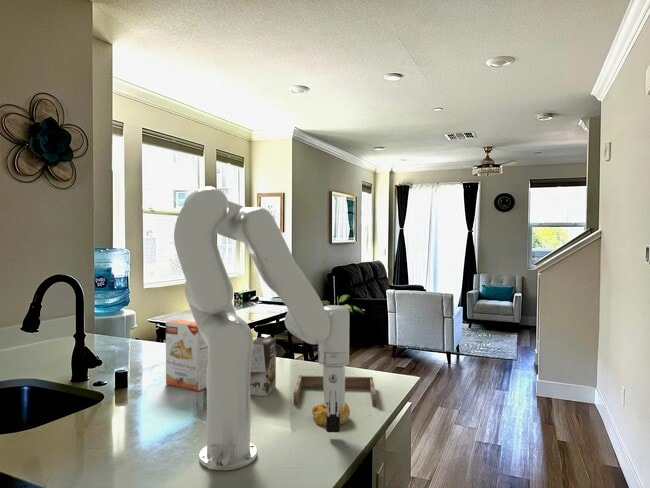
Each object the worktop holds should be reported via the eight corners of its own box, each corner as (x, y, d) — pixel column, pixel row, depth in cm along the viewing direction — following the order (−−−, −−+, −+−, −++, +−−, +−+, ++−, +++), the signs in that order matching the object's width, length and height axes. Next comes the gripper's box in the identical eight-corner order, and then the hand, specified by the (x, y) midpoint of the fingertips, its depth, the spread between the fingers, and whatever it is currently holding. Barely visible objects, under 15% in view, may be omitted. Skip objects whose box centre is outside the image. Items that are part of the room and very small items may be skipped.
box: (376, 406, 134) (376, 394, 134) (293, 404, 135) (293, 392, 135) (372, 387, 150) (372, 377, 150) (298, 386, 151) (298, 375, 151)
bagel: (329, 409, 132) (330, 392, 132) (357, 421, 124) (358, 403, 124) (303, 418, 126) (303, 401, 125) (330, 432, 118) (331, 414, 117)
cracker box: (164, 385, 151) (164, 321, 150) (178, 380, 156) (178, 318, 156) (197, 392, 144) (197, 325, 144) (210, 386, 150) (210, 322, 149)
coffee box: (267, 396, 141) (267, 344, 141) (247, 395, 142) (247, 343, 142) (276, 387, 150) (276, 337, 150) (257, 385, 151) (257, 336, 151)
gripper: (349, 365, 106) (348, 445, 106) (348, 349, 121) (348, 419, 121) (316, 365, 106) (315, 444, 106) (320, 348, 121) (319, 418, 121)
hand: (333, 430), depth 114 cm, fingers closed
